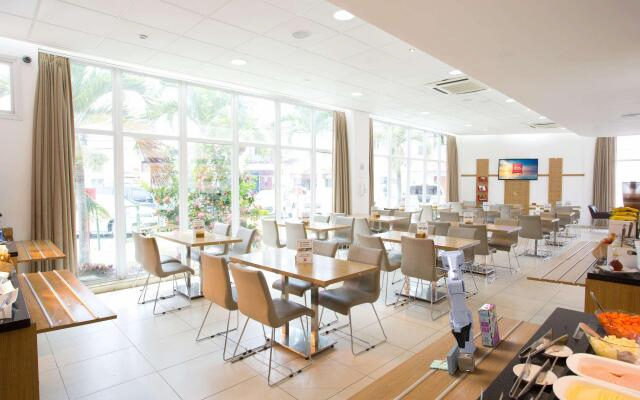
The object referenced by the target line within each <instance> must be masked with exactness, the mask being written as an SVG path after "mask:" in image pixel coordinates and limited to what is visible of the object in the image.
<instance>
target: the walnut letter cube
mask: <svg viewBox="0 0 640 400" xmlns="http://www.w3.org/2000/svg"><path fill="white" fill-rule="evenodd" d="M458 363H459V365H458V368H459V371H462V372H467V371H466V370H469V371H470V372H469V373H474V371H475V369H476V363H475V354H474V353H473V354H470V353H460V355H459V357H458Z"/></svg>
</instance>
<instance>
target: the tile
mask: <svg viewBox="0 0 640 400" xmlns="http://www.w3.org/2000/svg"><path fill="white" fill-rule="evenodd" d="M442 361H443V359H442V360H441V359H440V360H439V359H434V360H433V361H432V363H431V364H430V366H429V369H432V370H433V368H438V369H437V370H440V369H441V370H440V371H448V364H447V360H445V361H446V362H444V363H443V364H441V365H439V364H440V363H441V362H442ZM438 365H439V366H438ZM437 366H438V367H437Z"/></svg>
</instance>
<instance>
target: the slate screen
mask: <svg viewBox="0 0 640 400" xmlns="http://www.w3.org/2000/svg"><path fill="white" fill-rule="evenodd" d="M460 354H461V353H460V349H459V346H458V344H456V343H454V345H453V346H452V347H451V348H450V350H449V351H448V353H447V354H446V361H447V364H448V370H447V371H448V374H449V375H450V376H451V375H452V376H453V375H454V373H455V371H456V370H457V369H458V368H459V363H458V357H459V355H460Z"/></svg>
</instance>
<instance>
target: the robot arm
mask: <svg viewBox="0 0 640 400" xmlns="http://www.w3.org/2000/svg"><path fill="white" fill-rule="evenodd" d="M440 256H441V263H442V267H443V269H444V271H447V283H446V284H447V292H448V295H449V300H450V305H451V310H449V323H450V324H449V325H450V329H451V334H452V336H453V337H454V338H455V344H458V346H459V349H460V354H461V353H463V354H474V353H475V351H476V349H477V347H478V345H477V344H475V339H474V338H475V336H474V332H473V330H474V328H475V324H474V317H473V312H472V311H471V310H470V309H469V308H468V306H467V300H466V299H467V298H466V293H467V292H466V283H465V280H464V278H463V273H462V270H464V269H466V261H465V253H464V250H463V249H461V250H451V251H450V250H448V251H441V252H440Z"/></svg>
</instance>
